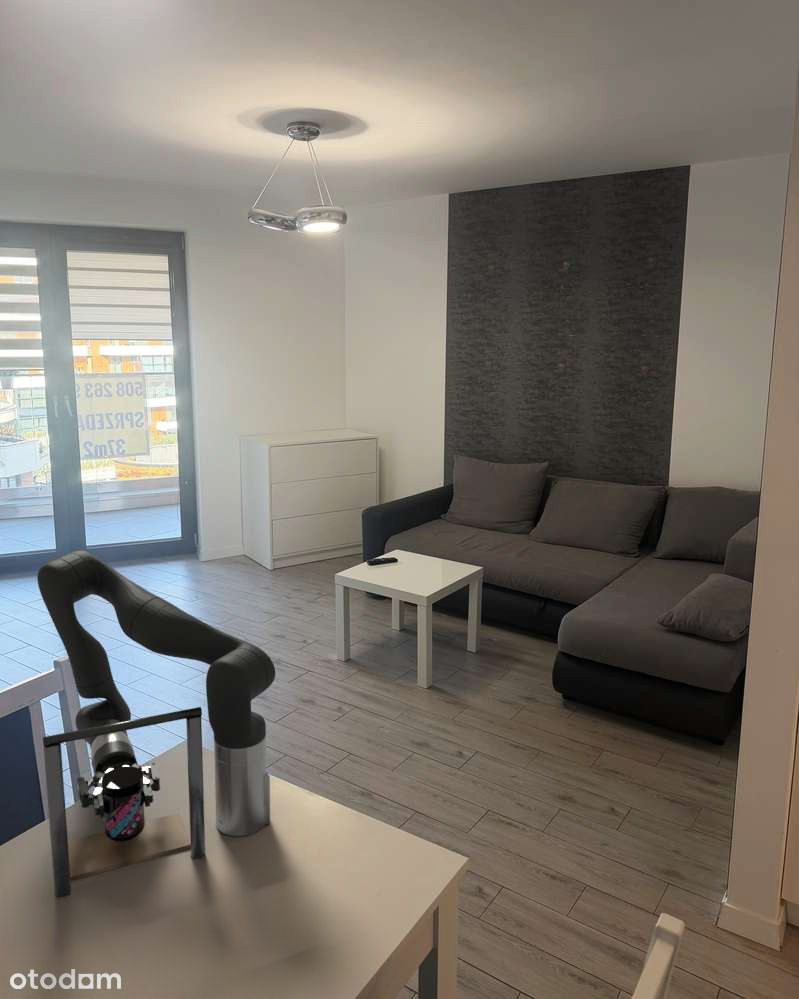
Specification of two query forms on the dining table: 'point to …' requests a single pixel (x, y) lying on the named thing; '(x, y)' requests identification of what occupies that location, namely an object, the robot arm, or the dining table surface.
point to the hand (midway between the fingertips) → (125, 807)
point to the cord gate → (54, 741)
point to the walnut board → (126, 847)
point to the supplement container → (123, 803)
